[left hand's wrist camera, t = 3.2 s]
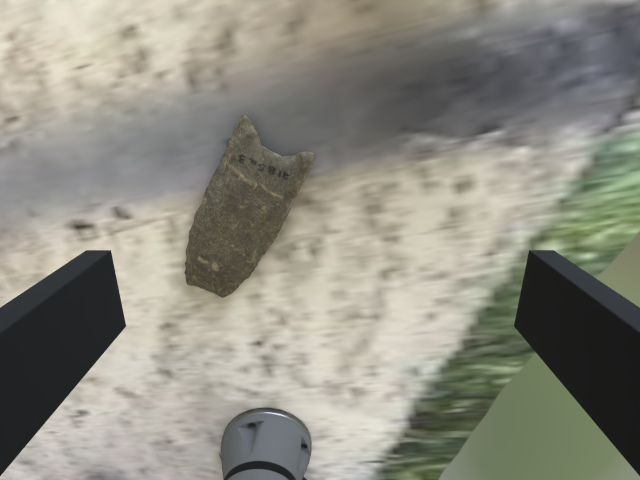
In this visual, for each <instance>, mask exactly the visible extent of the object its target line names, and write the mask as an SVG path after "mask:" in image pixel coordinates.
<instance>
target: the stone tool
mask: <svg viewBox="0 0 640 480" xmlns="http://www.w3.org/2000/svg"><path fill="white" fill-rule="evenodd" d="M314 158H315V154H313V153H311V152H306V151H304V152H299V153H296V154H295V155H294V156H281V155H278V154H276V153H274V152H272V151H270V150H268V149H267V148H265V147H263V146H262V145H261V142H260V139H259V136H258V133H257V131H255V128H254V125H253V123H251V122H250V121H249V118H248V117H247V116H245V115H244V116H242V117H241V118H240V119H239V121H238V123H237V124H236V126H235V129H234V131H233V133H232V135H231V138H230V140H229V142H228V144H227V148H226V151H225V153H224V155H223V157H222V160H221V163H220V165H219V167H218V168H217V170H216V172H215V173H214V175H213V177H212V179H211V181H210V184H209V186H208V188H207V189H206V192H205V195H204V198H203V201H202V205H201V206H200V207H199V209H198V210H197V212H196V215H195V218H194V223H193V225H192V228H191V230H190V232H189V242H188V245H187V249H186V256H187V260H186V262H185V265H186V270H185V274H186V282H187V284H188V285H193V286H198V287H200V288H203V289H205V290H208V291H209V292H213V293H215V294H217V295H219V296H221V297H223V298H224V297H225V296H228V295H230V294H231V293H233V291H235V290H236V289H237V288H238V287H239V285H240V284H241V283H242V282H243V281H244V280H245V279H247V278H249V276H250V275H251V273H252V272H253V271H254V269H255V268H256V266H257V264H258V262H259V260H260V259H261V257H262V256H263V255H264V254H265V253H266V251H267V249H268V247H269V246H270V245H271V244H272V243H273V241H274V239H275V238H276V237H277V234H278V232H279V231H280V229H281V226H282V224H283V221H284V220H285V218H286V216H287V215H288V213H289V211H290V209H291V205H292V204H293V202H294V199H295V197H296V195H297V193H298V191H299V189H300V186H301V185H302V182H303V181H304V179H305V178H306V176H307V174H308V173H309V171H310V169H311V166H312V164H313V161H314Z"/></svg>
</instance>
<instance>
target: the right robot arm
mask: <svg viewBox="0 0 640 480" xmlns="http://www.w3.org/2000/svg"><path fill="white" fill-rule="evenodd" d="M219 455H220V454H219ZM310 456H311V436H310V433H309V431H308V429H307V428H306V426H305V425H304V424H303V423H302V422H301V421H300V420H299V419H298V418H296V417H295V416H293V415H292V414H289V413H287V412H285V411H282V410H278V409H271V408H259V409H253V410H249V411H246V412H244V413H242V414H240V415H238V416H237V417H235V418H234V419H233V420H232V421H231V422H230V423H229V424H228V426H227V427H226V429H225V432H224V435H223V438H222V443H221V456H220V458H221V460H222V470H223V480H307V479H305V478H304V477H303V476H304V474H305V471H306V469H307V466H308V464H309V461H310Z"/></svg>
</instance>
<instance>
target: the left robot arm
mask: <svg viewBox="0 0 640 480" xmlns="http://www.w3.org/2000/svg"><path fill="white" fill-rule="evenodd" d="M125 327H126V324H125V319H124V314H123V309H122V304H121V299H120V294H119V289H118V284H117V279H116V274H115V269H114V264H113V259H112V254H111V250H86V251H85V252H83V253H82V254H80V255H79V256H77V257H76V258H74V259H73V260H71V261H70V262H68V263H67V264H65V265H64V266H62V267H61V268H59V269H58V270H56V271H55V272H53V273H52V274H50V275H49V276H47V277H46V278H44V279H43V280H41V281H40V282H38V283H37V284H35V285H34V286H32V287H31V288H29V289H28V290H26V291H25V292H23V293H22V294H20V295H19V296H17V297H16V298H14V299H13V300H11V301H10V302H8V303H7V304H5V305H4V306H2V307H1V308H0V476H1V474H2V473H3V472H4V471H5V470H6V468H7V467H8V466H9V465H10V464H11V463H12V461H13V460H14V459H15V458H16V457H17V455H18V454H19V453H20V452H21V451H22V449H23V448H24V447H25V446H26V445H27V443H28V442H29V441H30V440H31V439H32V438H33V436H34V435H35V434H36V433H37V432H38V430H39V429H40V428H41V427H42V426H43V424H44V423H45V422H46V421H47V420H48V418H49V417H50V416H51V415H52V414H53V412H54V411H55V410H56V409H57V408H58V407H59V405H60V404H61V403H62V402H63V401H64V399H65V398H66V397H67V396H68V395H69V393H70V392H71V391H72V390H73V389H74V387H75V386H76V385H77V384H78V383H79V382H80V380H81V379H82V378H83V377H84V376H85V374H86V373H87V372H88V371H89V370H90V368H91V367H92V366H93V365H94V364H95V362H96V361H97V360H98V359H99V358H100V356H101V355H102V354H103V353H104V352H105V351H106V349H107V348H108V347H109V346H110V345H111V343H112V342H113V341H114V340H115V339H116V337H117V336H118V335H119V334H120V333H121V331H122V330H123V329H124V328H125ZM514 327H515V328H516V329H517V330H518V331H519V333H520V334H521V335H522V336H523V337H524V339H525V340H526V341H527V342H528V343H529V345H530V346H531V347H532V348H533V349H534V351H535V352H536V353H537V354H538V355H539V356H540V358H541V359H542V360H543V361H544V362H545V364H546V365H547V366H548V367H549V368H550V370H551V371H552V372H553V373H554V374H555V376H556V377H557V378H558V379H559V380H560V382H561V383H562V384H563V385H564V386H565V387H566V389H567V390H568V391H569V392H570V393H571V395H572V396H573V397H574V398H575V399H576V401H577V402H578V403H579V404H580V405H581V407H582V408H583V409H584V410H585V411H586V412H587V414H588V415H589V416H590V417H591V418H592V420H593V421H594V422H595V423H596V424H597V426H598V427H599V428H600V429H601V430H602V432H603V433H604V434H605V435H606V436H607V438H608V439H609V440H610V441H611V442H612V443H613V445H614V446H615V447H616V448H617V449H618V451H619V452H620V453H621V454H622V455H623V457H624V458H625V459H626V460H627V461H628V463H629V464H630V465H631V466H632V467H633V468H634V470H635V471H636V472H637V473H638V474H639V476H640V308H639V307H638V306H636V305H635V304H633V303H632V302H630V301H629V300H627V299H626V298H624V297H623V296H621V295H620V294H618V293H617V292H615V291H614V290H612V289H611V288H609V287H608V286H606V285H605V284H603V283H602V282H600V281H599V280H597V279H596V278H594V277H593V276H591V275H590V274H588V273H587V272H585V271H584V270H582V269H581V268H579V267H578V266H576V265H575V264H573V263H572V262H570V261H569V260H567V259H566V258H564V257H563V256H561V255H560V254H558V253H557V252H555V251H554V250H529V254H528V259H527V264H526V269H525V274H524V279H523V284H522V289H521V294H520V299H519V304H518V309H517V314H516V319H515V324H514Z"/></svg>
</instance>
